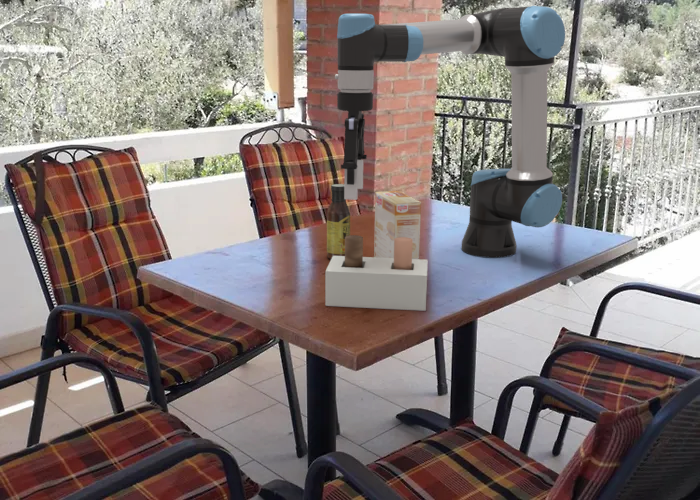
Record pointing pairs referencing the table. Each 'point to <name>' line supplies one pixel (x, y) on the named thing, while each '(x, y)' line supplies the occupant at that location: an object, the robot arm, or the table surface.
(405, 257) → the peg
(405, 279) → the block
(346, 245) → the peg
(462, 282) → the table surface
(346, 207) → the sauce bottle
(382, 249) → the coffeecake box
